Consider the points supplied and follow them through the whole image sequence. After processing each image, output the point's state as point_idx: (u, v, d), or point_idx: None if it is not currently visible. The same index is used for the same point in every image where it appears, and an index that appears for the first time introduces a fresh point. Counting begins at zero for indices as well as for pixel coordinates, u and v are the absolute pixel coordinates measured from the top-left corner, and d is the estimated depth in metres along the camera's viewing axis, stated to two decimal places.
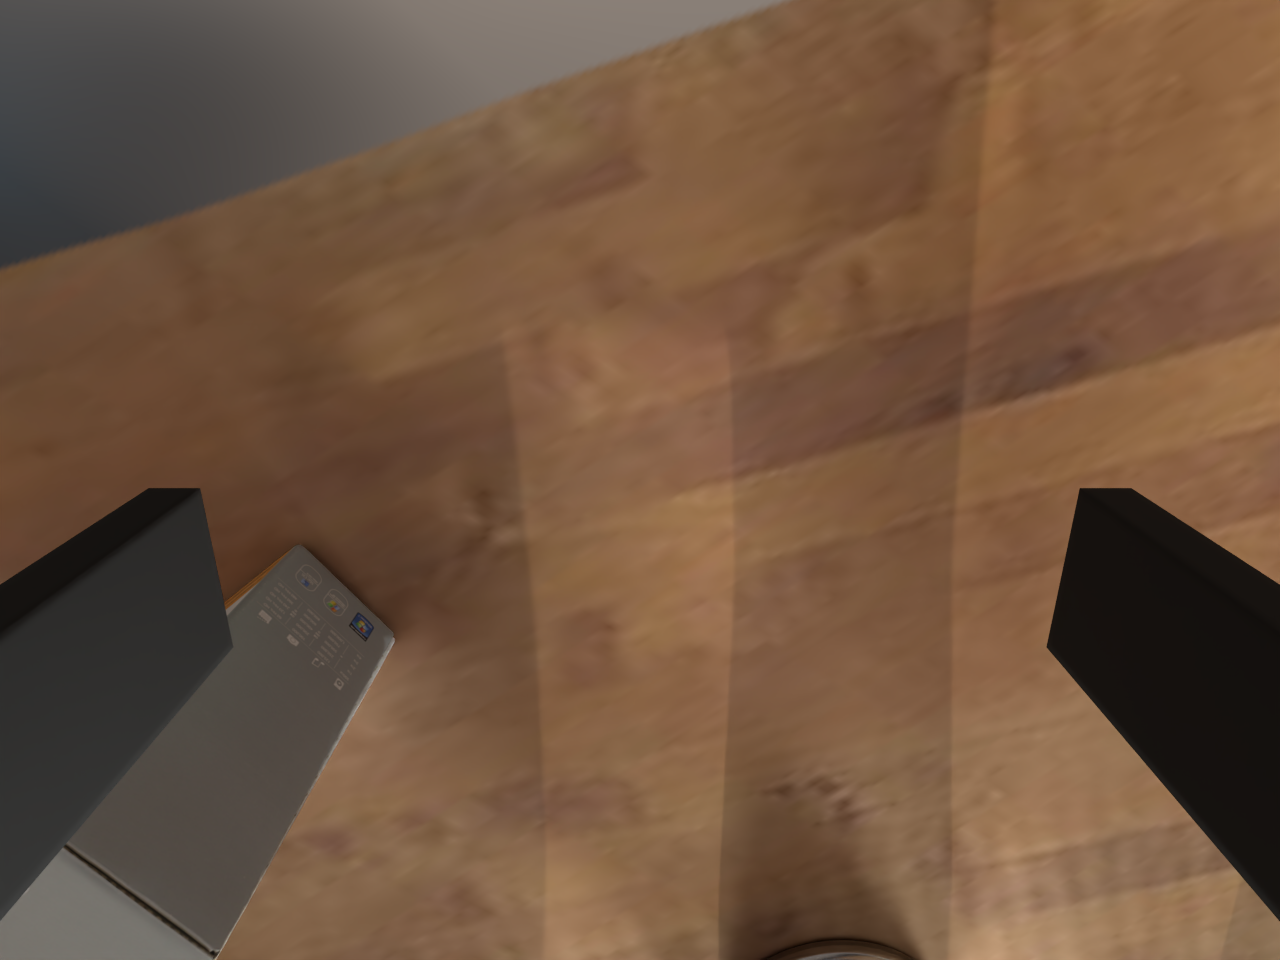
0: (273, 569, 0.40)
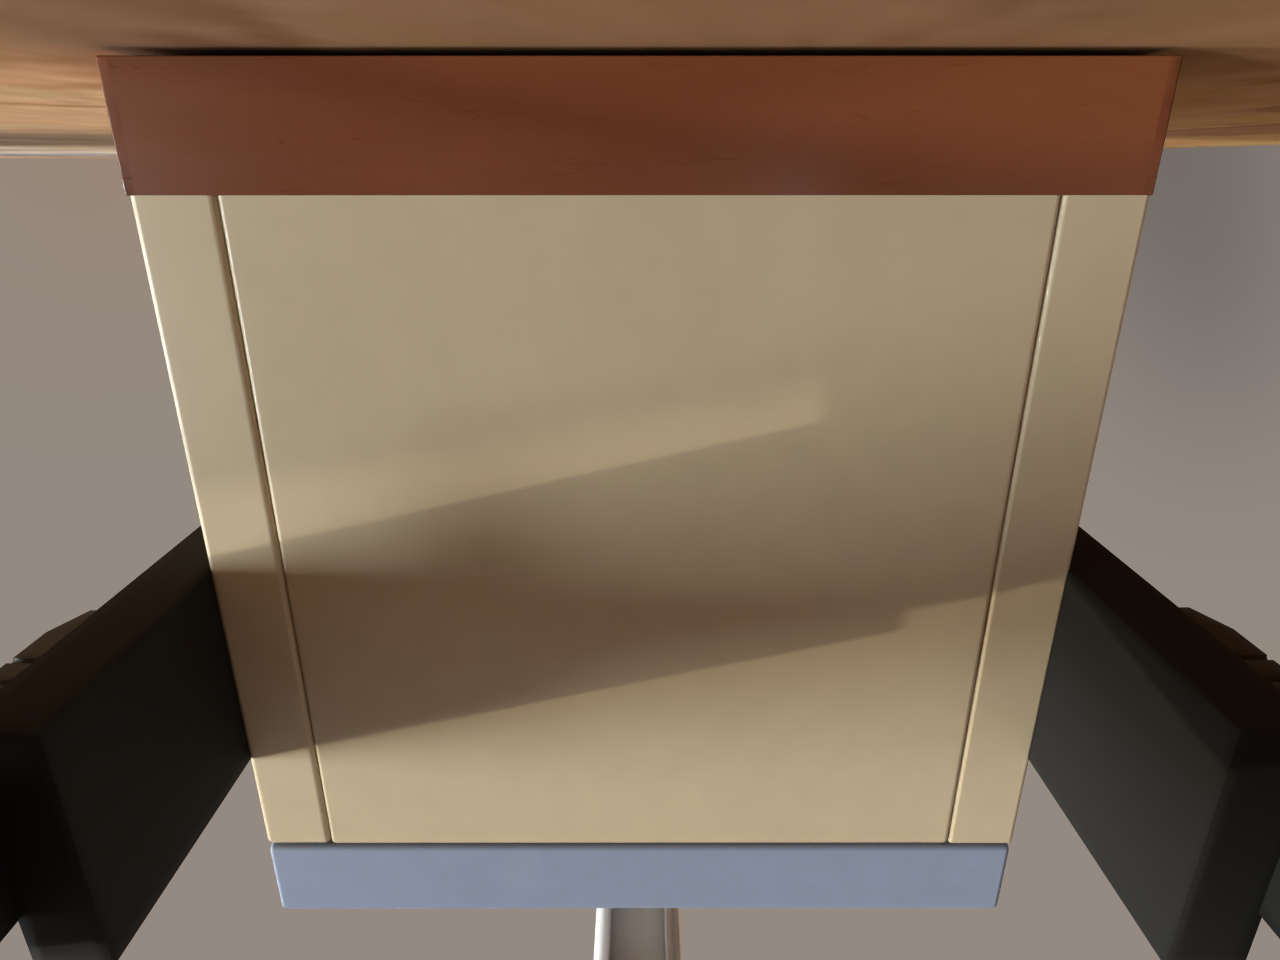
0: None
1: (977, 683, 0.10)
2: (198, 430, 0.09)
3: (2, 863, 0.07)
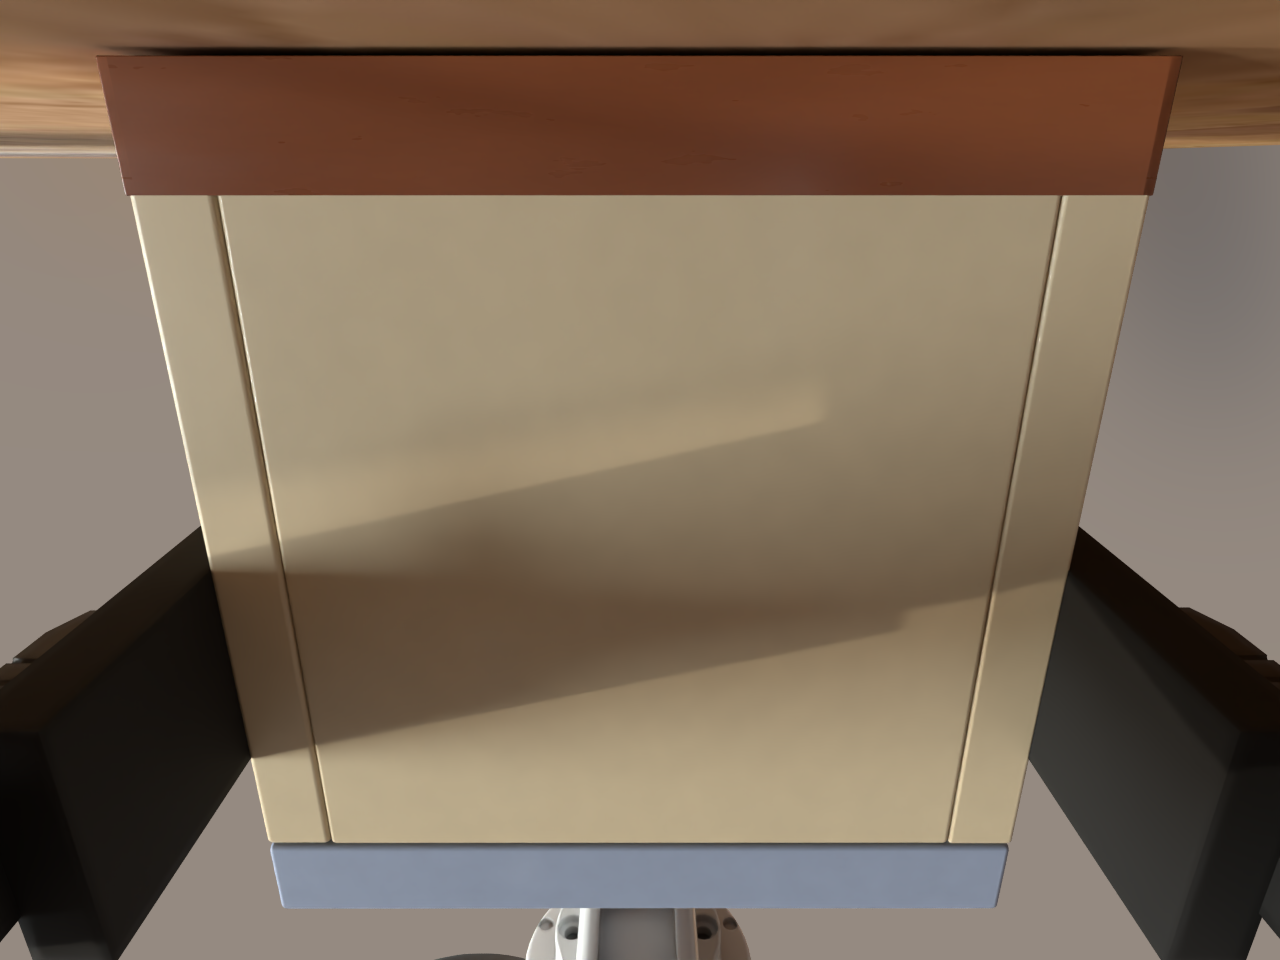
0: None
1: (977, 683, 0.10)
2: (198, 430, 0.09)
3: (2, 863, 0.07)
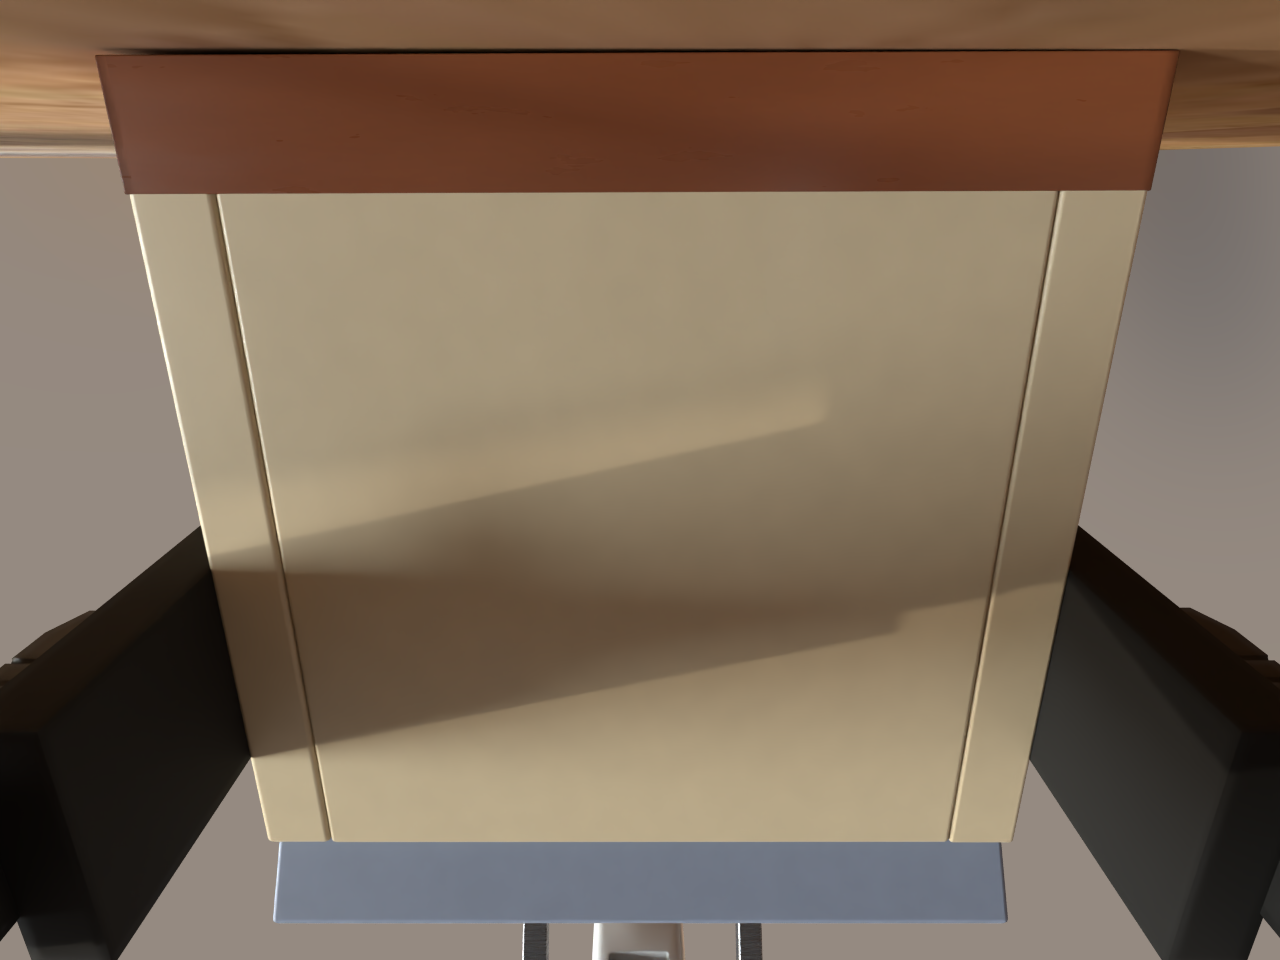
0: None
1: (977, 681, 0.10)
2: (197, 428, 0.09)
3: (1, 863, 0.07)
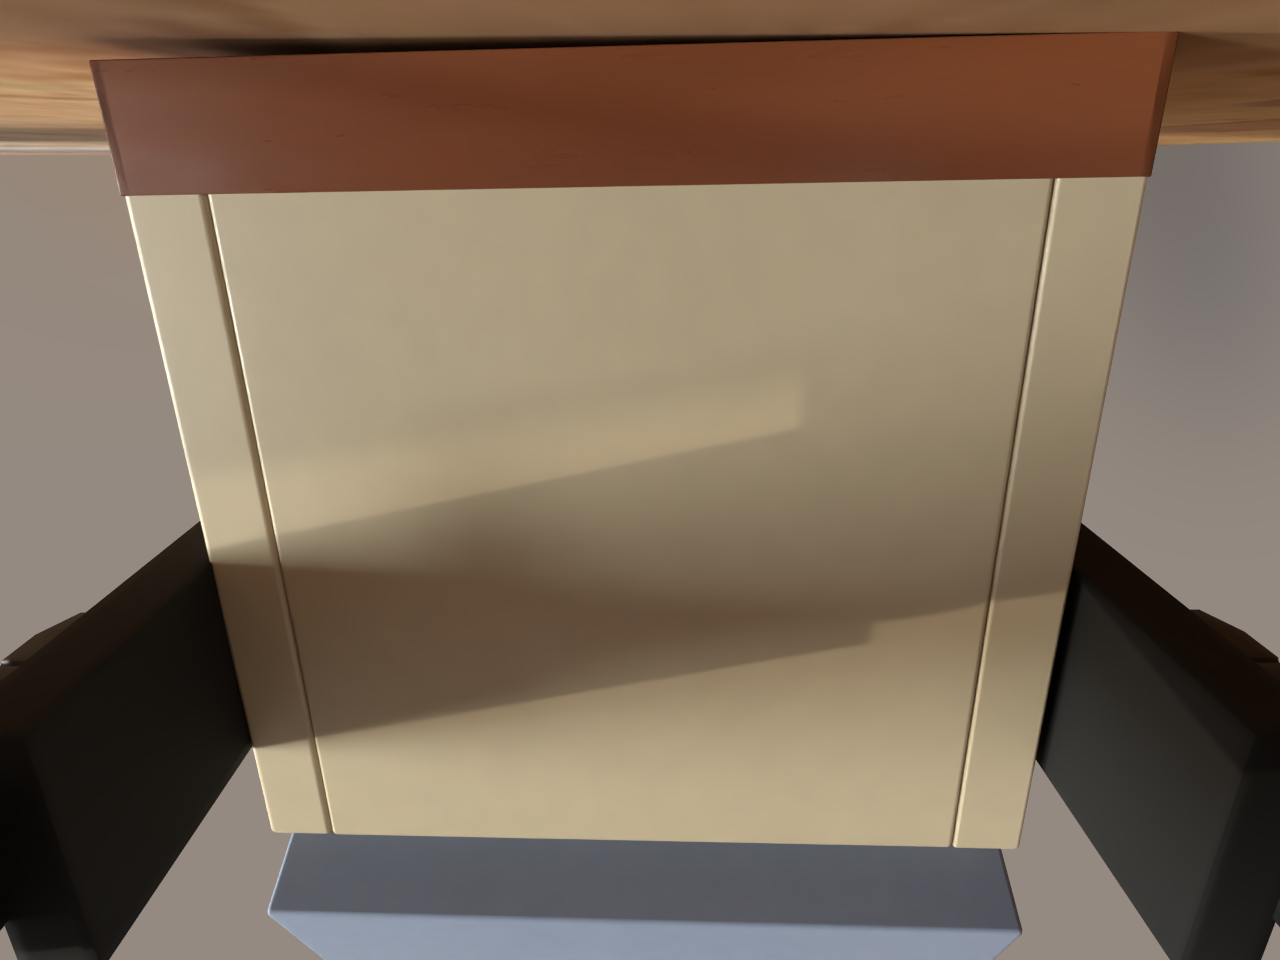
0: None
1: (978, 683, 0.10)
2: (194, 425, 0.09)
3: None
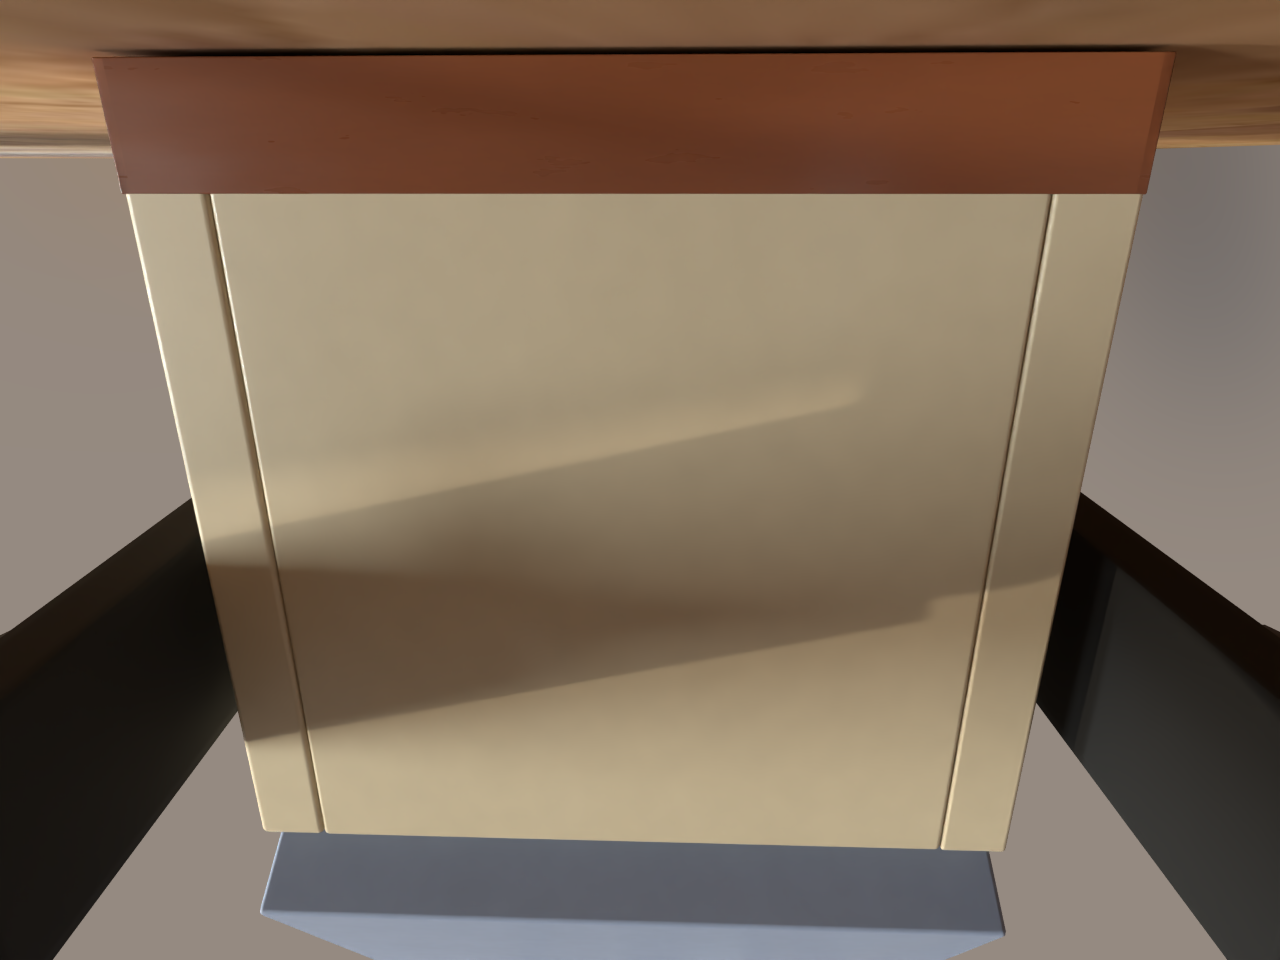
0: None
1: (969, 689, 0.10)
2: (193, 424, 0.09)
3: None
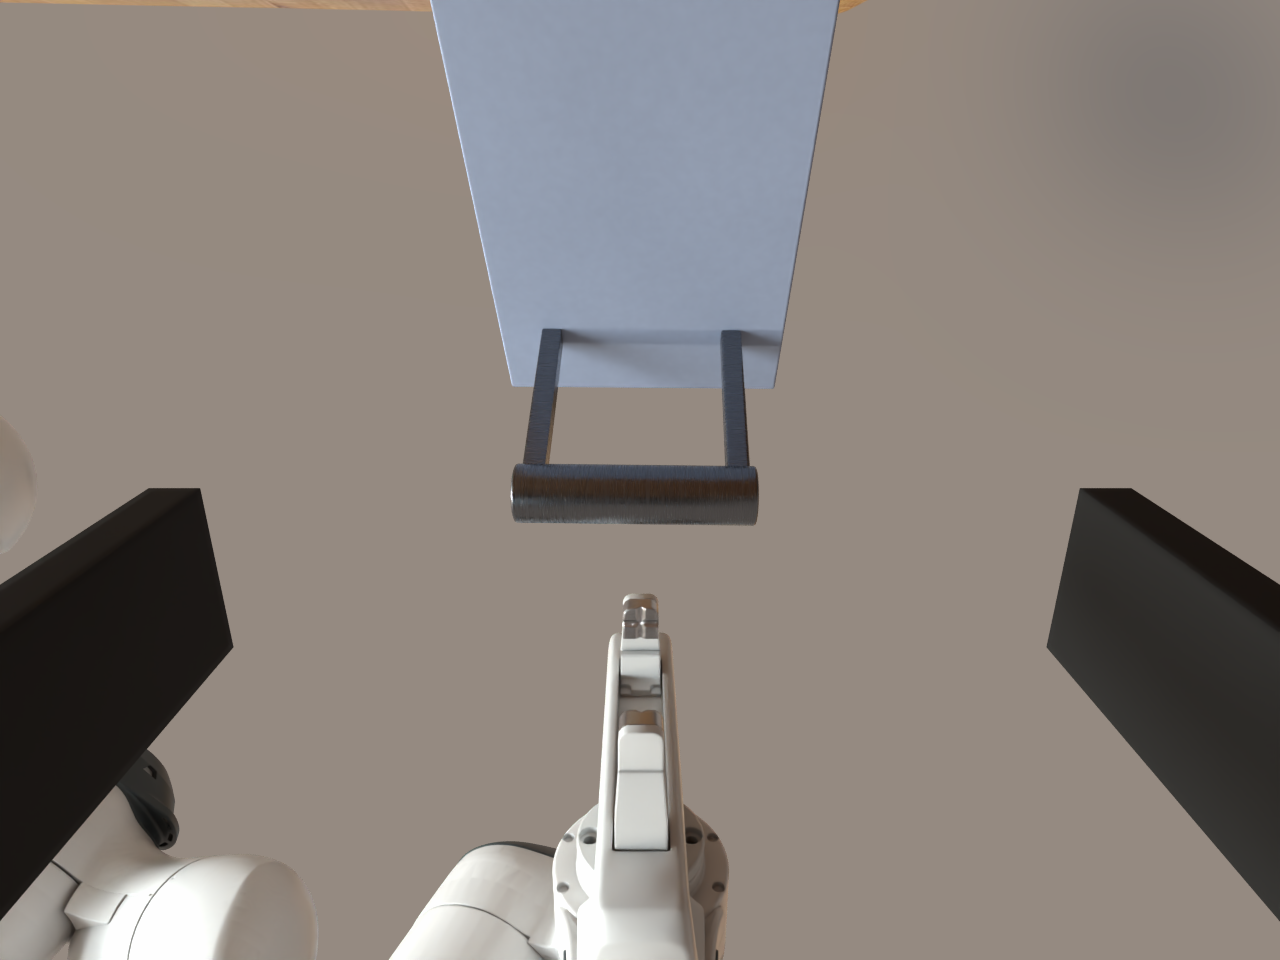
0: None
1: None
2: None
3: None
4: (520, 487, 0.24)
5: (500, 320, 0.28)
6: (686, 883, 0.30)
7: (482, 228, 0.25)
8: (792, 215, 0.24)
